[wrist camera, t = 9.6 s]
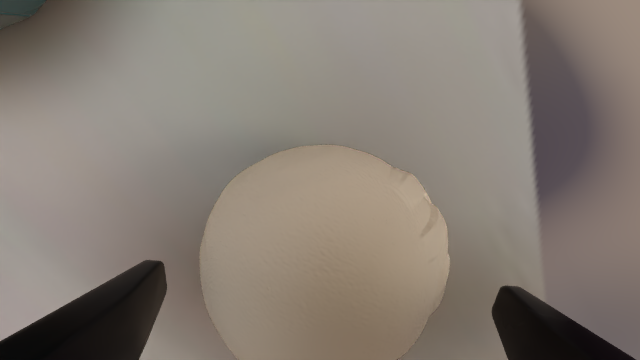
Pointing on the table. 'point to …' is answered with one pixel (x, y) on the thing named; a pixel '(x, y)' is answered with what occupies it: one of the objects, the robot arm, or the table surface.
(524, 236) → the table surface
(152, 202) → the table surface
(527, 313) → the robot arm
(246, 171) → the beige round lump
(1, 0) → the bowl
